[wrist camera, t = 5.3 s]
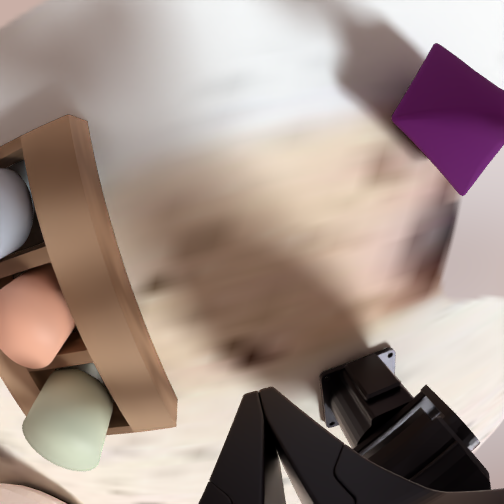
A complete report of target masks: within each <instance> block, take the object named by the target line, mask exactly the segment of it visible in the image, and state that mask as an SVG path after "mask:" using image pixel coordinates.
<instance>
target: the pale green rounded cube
mask: <svg viewBox="0 0 504 504" xmlns="http://www.w3.org/2000/svg"><path fill="white" fill-rule="evenodd" d="M112 411H113V401H112V398H111V396H110V394H109V392H108V390H107V389H106V388H105V387H104V386H103V384H102V383H100V382H99V381H98V380H97V379H96V378H94V377H93V376H91V375H89V374H87V373H85V372H83V371H81V370H77V369H73V368H61V369H58V370H55V371H54V372H52V373H51V375H50V376H49V378H48V379H47V381H46V383H45V384H44V386H43V388H42V390H41V391H40V393H39V395H38V396H37V398H36V400H35V402H34V404H33V405H32V407H31V409H30V411H29V413H28V414H27V416H26V418H25V420H24V422H23V425H22V429H23V433H24V436H25V438H26V440H27V441H28V443H29V444H30V445H31V447H32V448H33V449H34V450H35V451H36V452H37V453H39V454H40V455H41V456H42V457H44V458H45V459H47V460H48V461H50V462H52V463H53V464H55V465H58V466H60V467H62V468H65V469H69V470H73V471H89V470H92V469H94V468H95V467H97V465H98V464H99V461H100V457H101V453H102V449H103V445H104V441H105V437H106V433H107V429H108V426H109V422H110V419H111V415H112Z"/></svg>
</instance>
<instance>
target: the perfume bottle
mask: <svg viewBox="0 0 504 504" xmlns="http://www.w3.org/2000/svg"><path fill="white" fill-rule="evenodd" d="M392 121H393V123H394V124H395V125H396V126H397V127H398V128H399V129H400V130H401V131H402V132H403V133H404V134H405V135H406V136H407V137H408V138H409V139H410V140H411V141H412V142H413V143H414V144H415V145H416V146H417V147H418V148H419V149H420V150H421V151H422V152H423V153H424V154H425V155H426V156H427V157H428V159H429V160H430V161H431V162H432V163H433V164H434V165H435V166H436V167H437V169H438V170H439V171H440V172H441V173H442V174H443V175H444V177H445V178H446V179H447V180H448V181H449V183H450V184H451V185H452V186H453V187H454V189H455V190H456V191H457V192H458V193H459V194H460V195H462V196H464V195H465V194H466V193H467V191H468V190H469V189H470V188H471V186H472V185H473V184H474V182H475V181H476V180H477V178H478V177H479V176H480V174H481V173H482V172H483V170H484V169H485V168H486V166H487V165H488V164H489V163H490V161H491V160H492V159H493V157H494V156H495V155H496V154H497V153H498V151H499V150H500V149H501V148H502V146H503V145H504V90H502V89H500V88H498V87H497V86H496V85H494V84H493V83H491V82H490V81H489V80H487V79H486V78H484V77H483V76H482V75H480V74H479V73H477V72H476V71H474V70H473V69H472V68H471V67H469V66H468V65H467V64H466V63H464V62H463V61H462V60H460V59H459V58H458V57H456V56H455V55H454V54H452V53H451V52H449V51H448V50H447V49H445V48H444V47H442V46H441V45H439V44H438V43H435V44H434V45H433V47H432V48H431V50H430V52H429V54H428V55H427V57H426V59H425V61H424V62H423V64H422V66H421V68H420V69H419V71H418V73H417V75H416V76H415V78H414V80H413V81H412V83H411V85H410V87H409V88H408V90H407V92H406V93H405V95H404V97H403V98H402V100H401V102H400V103H399V105H398V107H397V108H396V110H395V112H394V113H393V115H392Z"/></svg>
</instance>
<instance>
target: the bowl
mask: <svg viewBox="0 0 504 504" xmlns="http://www.w3.org/2000/svg"><path fill="white" fill-rule="evenodd" d="M0 504H67V503H65V502H63V501H61V500H59V499H57V498H55V497H53V496H51V495H48V494H46V493H44V492H41V491H39V490H36V489H33V488H30V487H26V486H22V485H14V484H4V483H0Z"/></svg>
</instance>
